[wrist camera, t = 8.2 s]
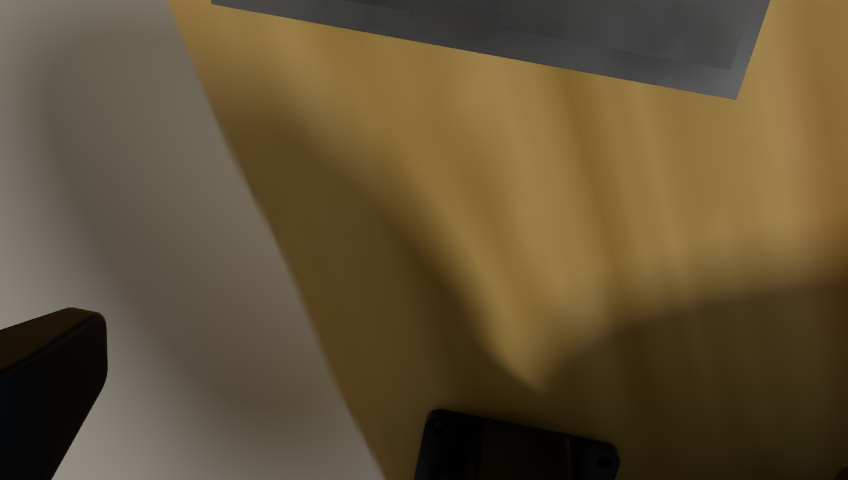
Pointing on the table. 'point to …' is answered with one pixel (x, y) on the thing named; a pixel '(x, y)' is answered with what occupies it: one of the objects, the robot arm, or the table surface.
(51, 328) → the robot arm
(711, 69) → the jack stand base
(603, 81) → the table surface
